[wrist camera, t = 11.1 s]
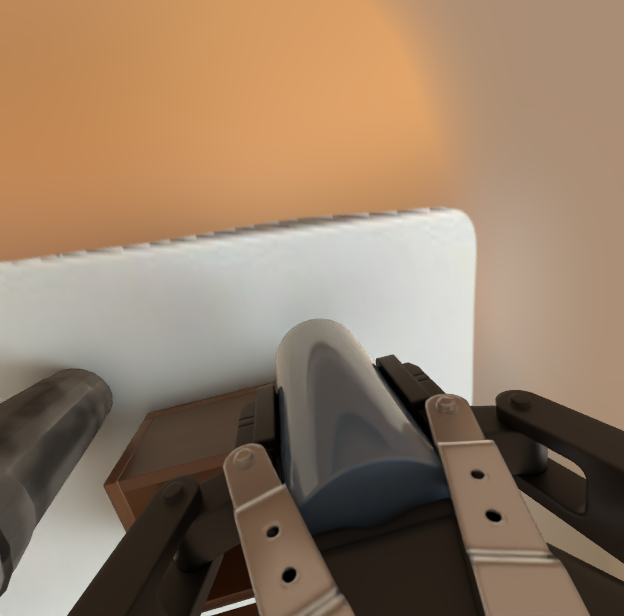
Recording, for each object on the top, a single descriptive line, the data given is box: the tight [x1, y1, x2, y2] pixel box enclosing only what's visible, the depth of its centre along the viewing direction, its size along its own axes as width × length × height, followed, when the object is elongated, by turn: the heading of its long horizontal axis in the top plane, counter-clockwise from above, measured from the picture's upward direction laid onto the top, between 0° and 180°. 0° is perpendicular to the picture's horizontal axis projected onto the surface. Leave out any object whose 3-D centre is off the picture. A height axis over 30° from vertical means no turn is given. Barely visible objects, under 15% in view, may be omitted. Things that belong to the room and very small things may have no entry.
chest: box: [104, 382, 277, 612], centre depth 23 cm, size 11×16×7 cm
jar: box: [276, 319, 449, 536], centre depth 12 cm, size 4×4×10 cm
